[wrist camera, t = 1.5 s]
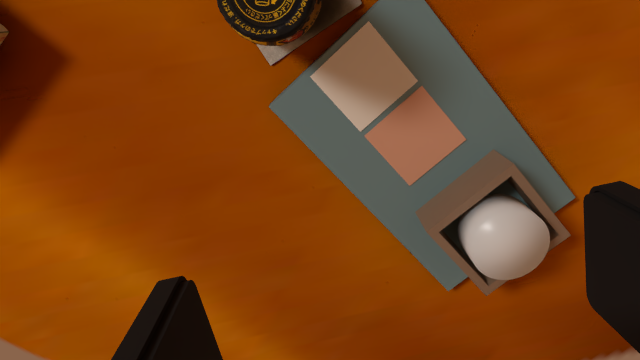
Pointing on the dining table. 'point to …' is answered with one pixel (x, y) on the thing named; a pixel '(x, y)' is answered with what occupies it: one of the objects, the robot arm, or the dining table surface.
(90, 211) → the dining table surface
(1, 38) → the puzzle game
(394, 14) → the board
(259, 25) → the condiment
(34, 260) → the dining table surface
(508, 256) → the dome
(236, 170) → the dining table surface
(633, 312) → the robot arm
